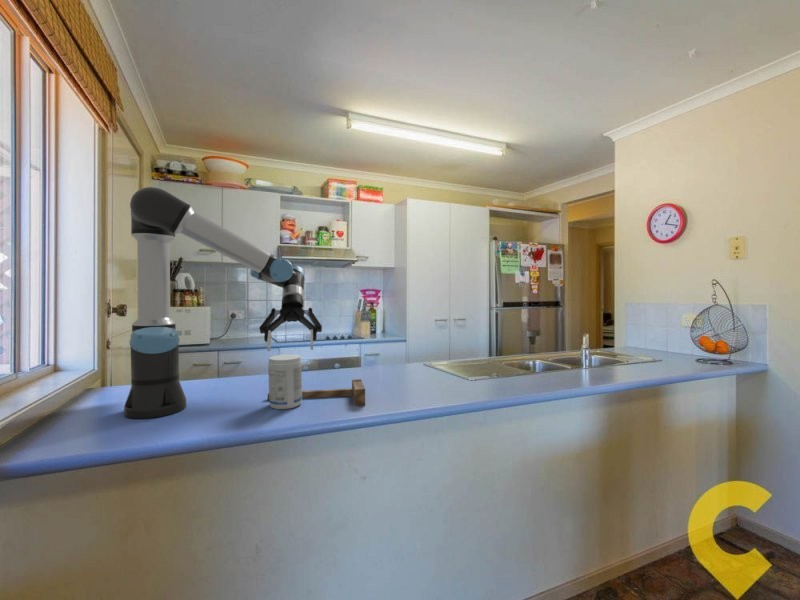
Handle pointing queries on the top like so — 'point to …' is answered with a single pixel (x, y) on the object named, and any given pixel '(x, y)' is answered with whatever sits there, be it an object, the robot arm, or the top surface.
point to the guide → (340, 393)
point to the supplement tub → (285, 381)
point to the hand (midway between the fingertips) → (290, 348)
